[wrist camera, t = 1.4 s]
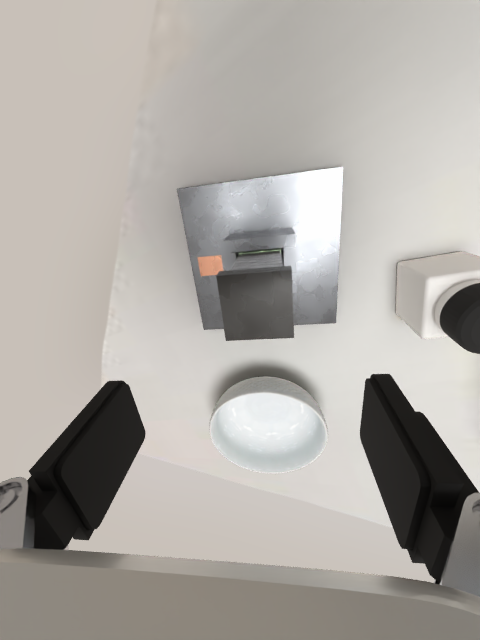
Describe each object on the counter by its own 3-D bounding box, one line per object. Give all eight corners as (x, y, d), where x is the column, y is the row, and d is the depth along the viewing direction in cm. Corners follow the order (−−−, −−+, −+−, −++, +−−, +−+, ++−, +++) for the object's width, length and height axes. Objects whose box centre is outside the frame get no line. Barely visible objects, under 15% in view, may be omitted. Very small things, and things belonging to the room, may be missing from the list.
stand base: (181, 189, 31) (158, 187, 25) (339, 167, 28) (359, 160, 22) (206, 324, 39) (193, 350, 32) (333, 318, 36) (346, 344, 30)
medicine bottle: (394, 314, 35) (449, 367, 24) (396, 261, 32) (459, 295, 21) (454, 305, 34) (541, 359, 23) (462, 250, 31) (565, 280, 20)
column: (238, 242, 31) (216, 275, 18) (283, 237, 30) (291, 269, 18) (243, 284, 33) (226, 340, 20) (285, 281, 32) (293, 337, 20)
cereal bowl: (212, 427, 48) (203, 463, 41) (223, 351, 40) (214, 381, 34) (305, 445, 47) (310, 484, 41) (333, 372, 40) (345, 405, 34)
